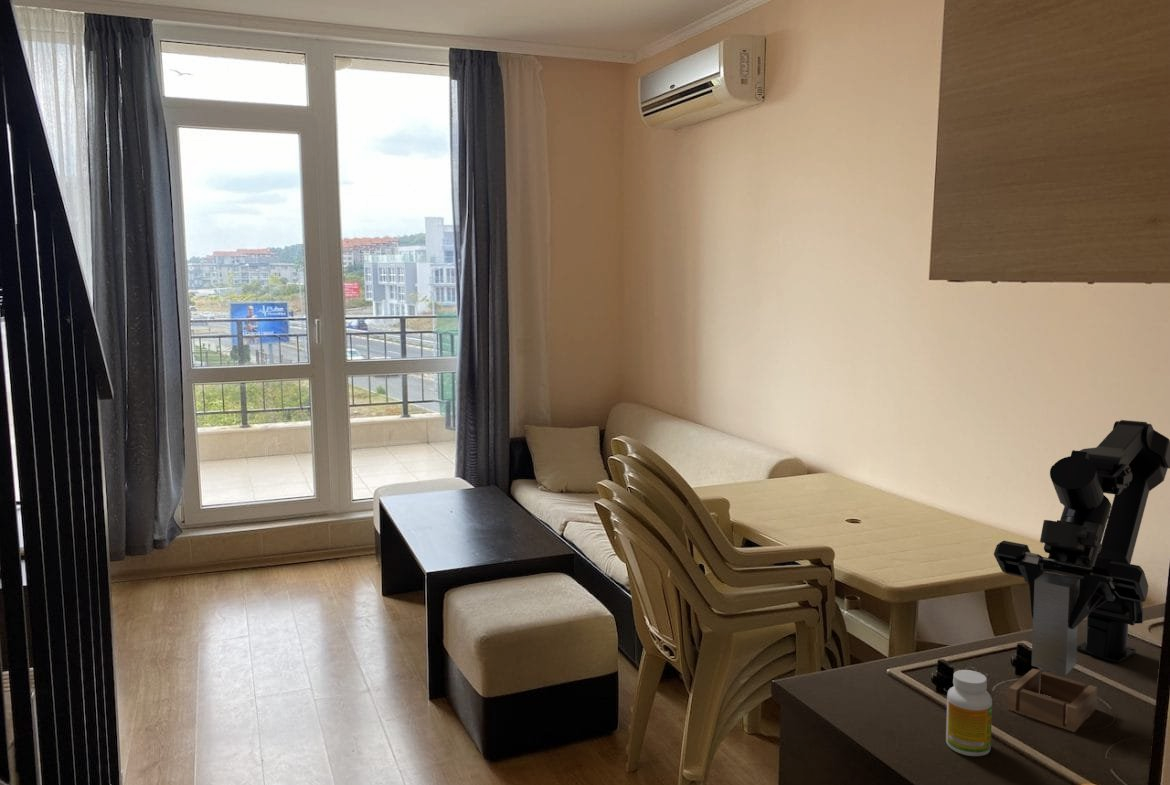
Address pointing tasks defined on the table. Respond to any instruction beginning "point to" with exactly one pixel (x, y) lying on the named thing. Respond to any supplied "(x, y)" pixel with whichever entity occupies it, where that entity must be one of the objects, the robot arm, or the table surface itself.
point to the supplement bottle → (969, 714)
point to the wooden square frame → (1053, 699)
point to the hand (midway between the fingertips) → (1052, 623)
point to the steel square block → (1054, 622)
